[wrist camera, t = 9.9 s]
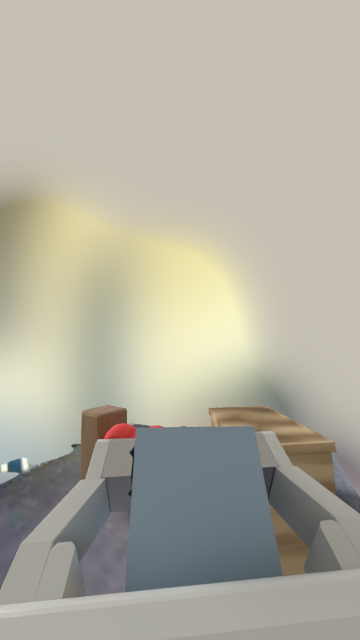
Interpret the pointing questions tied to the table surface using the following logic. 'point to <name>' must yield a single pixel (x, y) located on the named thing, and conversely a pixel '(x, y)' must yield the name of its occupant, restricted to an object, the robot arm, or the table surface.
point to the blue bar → (198, 509)
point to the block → (97, 430)
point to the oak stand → (302, 452)
